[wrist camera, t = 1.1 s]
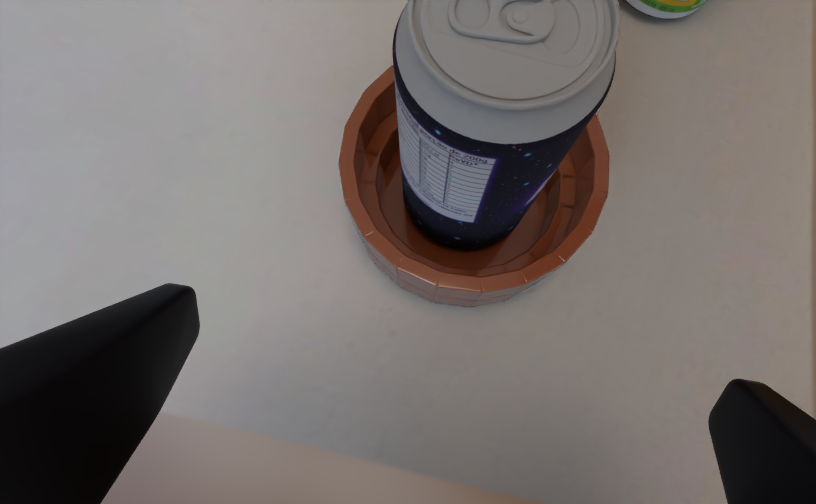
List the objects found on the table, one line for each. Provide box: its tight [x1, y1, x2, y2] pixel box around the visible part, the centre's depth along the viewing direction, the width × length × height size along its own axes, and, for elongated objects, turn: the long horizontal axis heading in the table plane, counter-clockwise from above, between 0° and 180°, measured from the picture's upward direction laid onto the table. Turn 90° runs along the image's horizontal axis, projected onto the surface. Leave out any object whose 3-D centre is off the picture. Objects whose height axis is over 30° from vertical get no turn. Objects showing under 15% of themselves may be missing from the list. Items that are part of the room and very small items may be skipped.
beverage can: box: [393, 0, 620, 250], centre depth 17 cm, size 6×6×12 cm
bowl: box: [339, 65, 609, 307], centre depth 21 cm, size 10×10×4 cm
